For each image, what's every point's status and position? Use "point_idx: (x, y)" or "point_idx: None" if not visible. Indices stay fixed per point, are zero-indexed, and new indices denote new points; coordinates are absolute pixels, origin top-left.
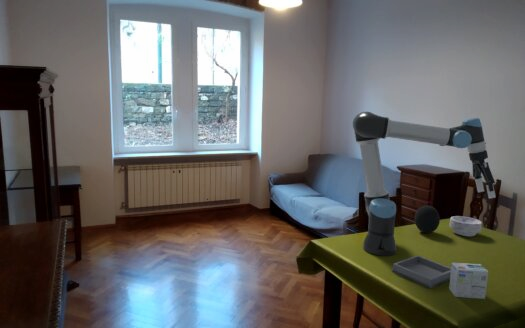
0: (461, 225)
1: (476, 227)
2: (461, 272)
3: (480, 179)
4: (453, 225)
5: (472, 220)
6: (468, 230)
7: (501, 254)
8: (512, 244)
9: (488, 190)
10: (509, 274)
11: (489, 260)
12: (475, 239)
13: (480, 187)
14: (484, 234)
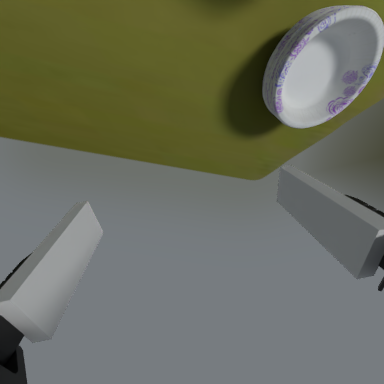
0: (286, 50)
1: (270, 105)
2: None
3: (352, 262)
4: (311, 17)
5: (332, 105)
6: (266, 75)
7: (156, 133)
8: (230, 165)
9: (41, 250)
10: (24, 123)
11: (92, 96)
12: (250, 93)
13: (297, 200)
14: None
